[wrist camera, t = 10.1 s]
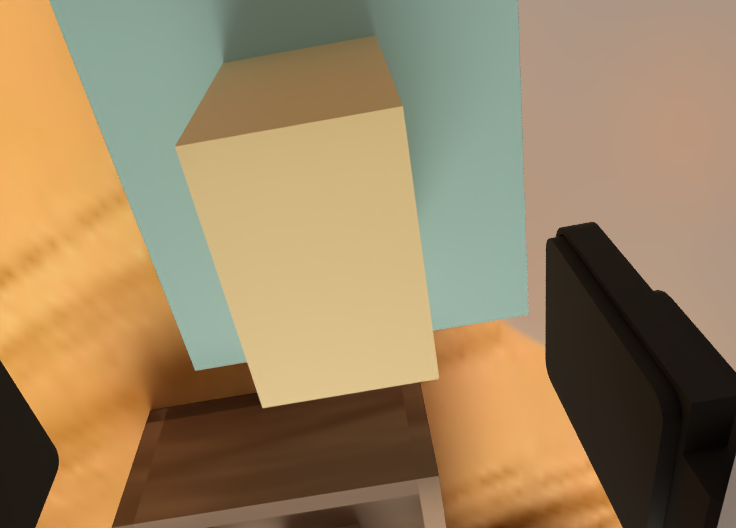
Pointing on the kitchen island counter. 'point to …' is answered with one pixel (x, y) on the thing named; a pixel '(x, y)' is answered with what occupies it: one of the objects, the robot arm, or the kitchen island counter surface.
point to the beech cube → (351, 526)
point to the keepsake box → (287, 464)
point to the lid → (316, 175)
